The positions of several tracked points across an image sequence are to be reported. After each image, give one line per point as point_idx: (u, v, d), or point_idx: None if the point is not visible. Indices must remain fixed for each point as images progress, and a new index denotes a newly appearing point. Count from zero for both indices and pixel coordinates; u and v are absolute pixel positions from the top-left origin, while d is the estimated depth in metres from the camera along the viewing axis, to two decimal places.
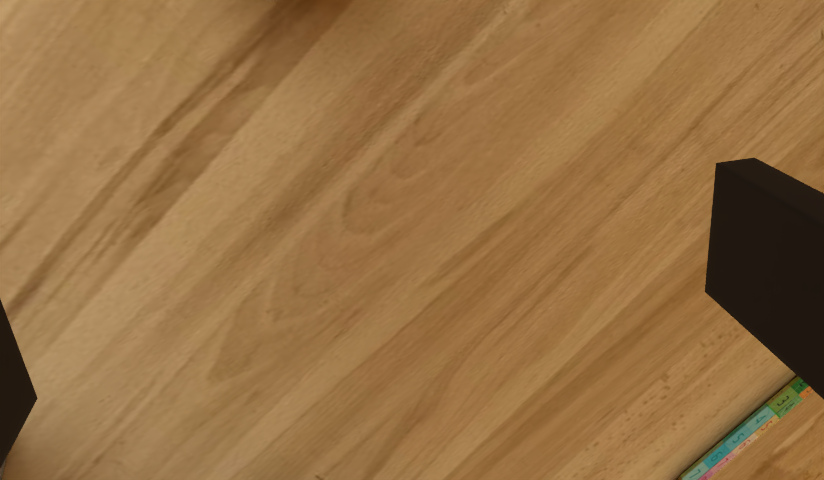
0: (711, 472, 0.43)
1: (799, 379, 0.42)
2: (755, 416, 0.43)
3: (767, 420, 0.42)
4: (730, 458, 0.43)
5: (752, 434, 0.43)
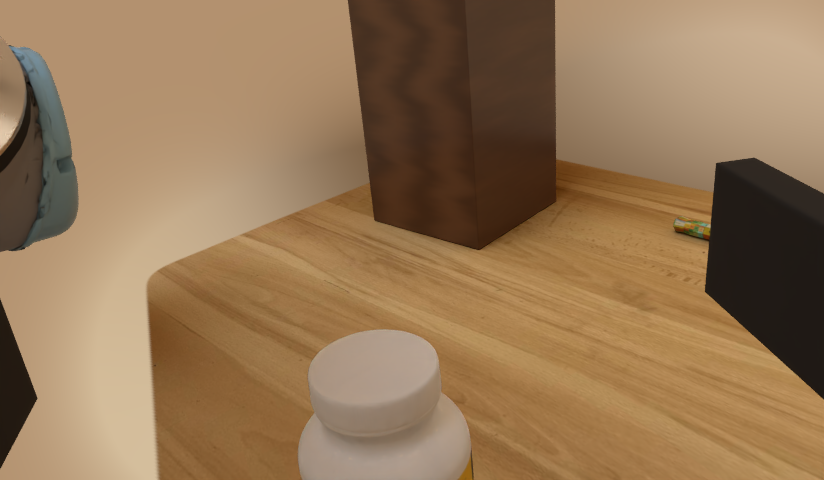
0: None
1: None
2: None
3: None
4: None
5: None
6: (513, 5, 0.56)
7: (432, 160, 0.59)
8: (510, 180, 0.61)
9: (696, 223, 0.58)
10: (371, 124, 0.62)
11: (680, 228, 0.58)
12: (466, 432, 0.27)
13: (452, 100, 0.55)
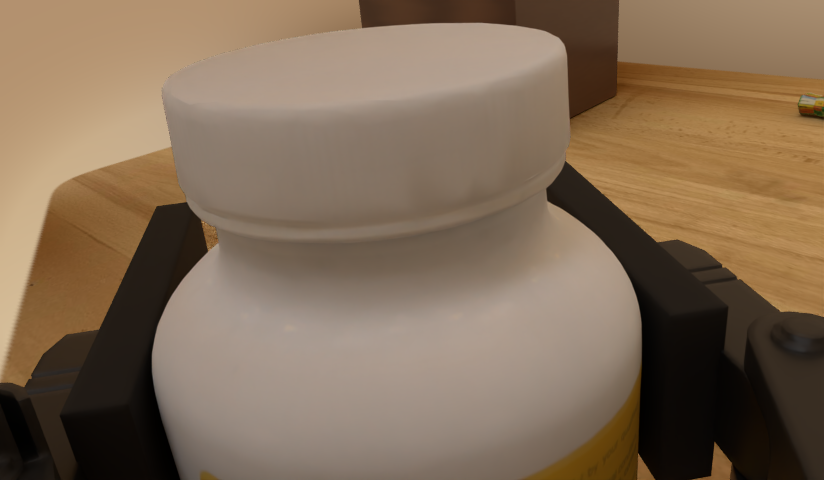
0: None
1: None
2: None
3: None
4: None
5: None
6: None
7: (454, 16, 0.42)
8: None
9: None
10: None
11: (808, 107, 0.42)
12: (629, 279, 0.09)
13: None
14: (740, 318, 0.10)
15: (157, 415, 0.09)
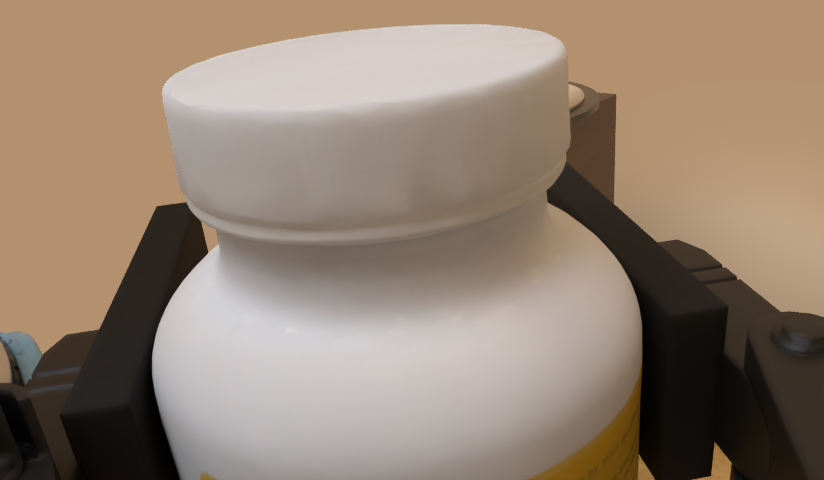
0: None
1: None
2: None
3: None
4: None
5: None
6: None
7: None
8: None
9: None
10: None
11: None
12: (629, 281, 0.09)
13: None
14: (740, 318, 0.10)
15: (157, 415, 0.09)
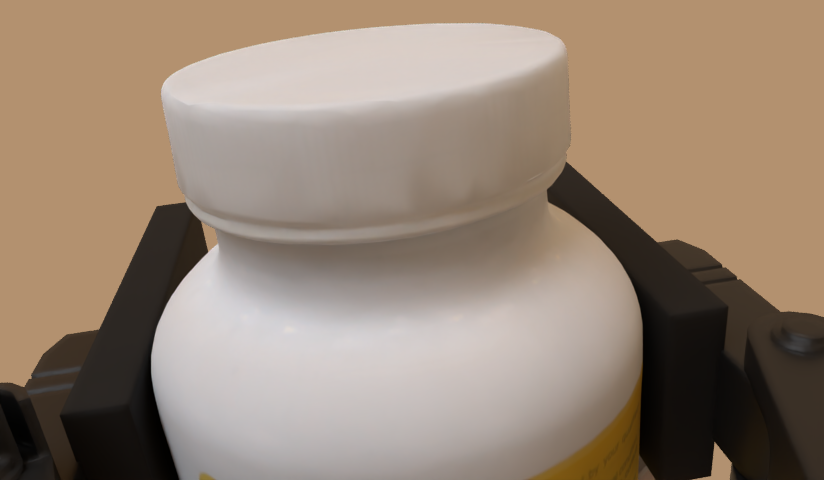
0: None
1: None
2: None
3: None
4: None
5: None
6: None
7: None
8: None
9: None
10: None
11: None
12: (630, 280, 0.09)
13: None
14: (740, 318, 0.10)
15: (157, 415, 0.09)
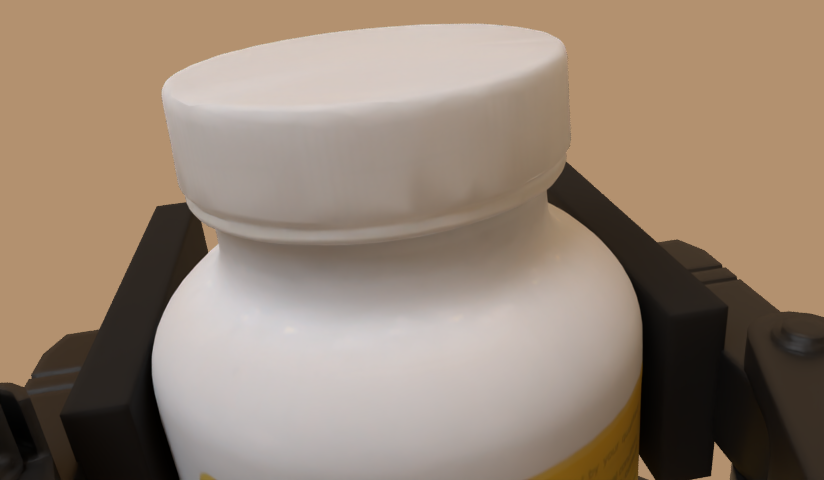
0: None
1: None
2: None
3: None
4: None
5: None
6: None
7: None
8: None
9: None
10: None
11: None
12: None
13: None
14: (741, 318, 0.10)
15: (157, 415, 0.09)
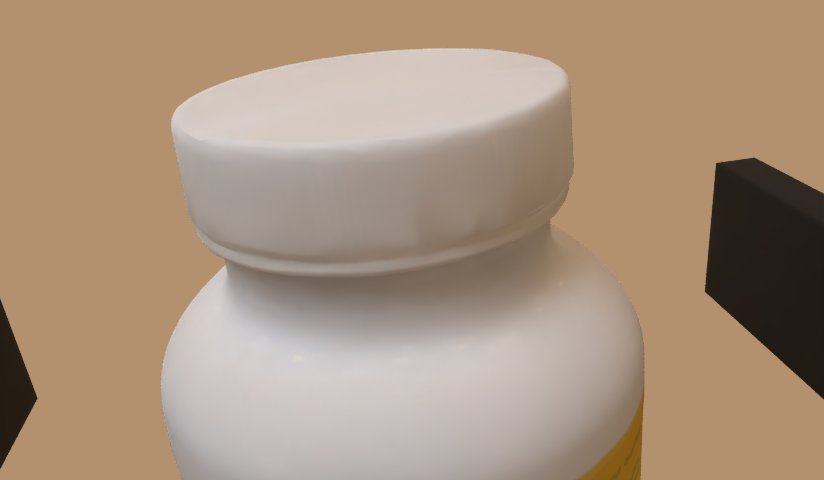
0: None
1: None
2: None
3: None
4: None
5: None
6: None
7: None
8: None
9: None
10: None
11: None
12: (631, 303, 0.10)
13: None
14: None
15: None
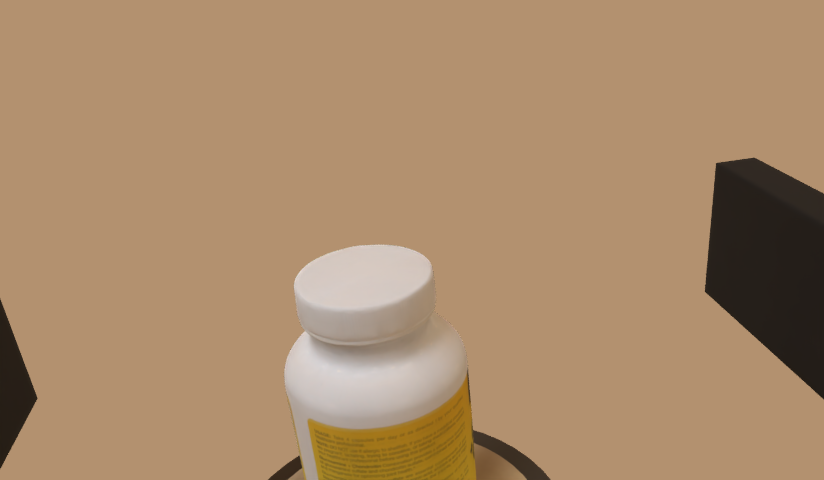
0: None
1: None
2: None
3: None
4: None
5: None
6: None
7: None
8: None
9: None
10: None
11: None
12: (462, 349, 0.25)
13: None
14: None
15: None
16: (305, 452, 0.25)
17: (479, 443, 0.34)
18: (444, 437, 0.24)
